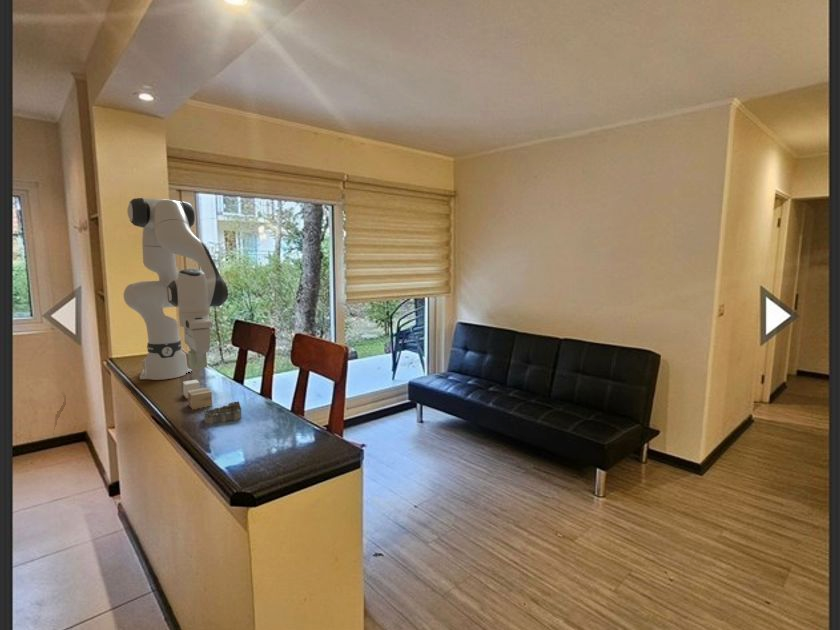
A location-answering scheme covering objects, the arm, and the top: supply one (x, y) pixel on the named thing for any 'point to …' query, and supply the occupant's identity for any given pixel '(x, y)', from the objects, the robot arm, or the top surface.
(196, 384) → the cream cube
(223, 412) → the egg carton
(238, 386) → the top surface
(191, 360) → the green cube
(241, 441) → the top surface
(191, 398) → the oak block
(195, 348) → the robot arm
